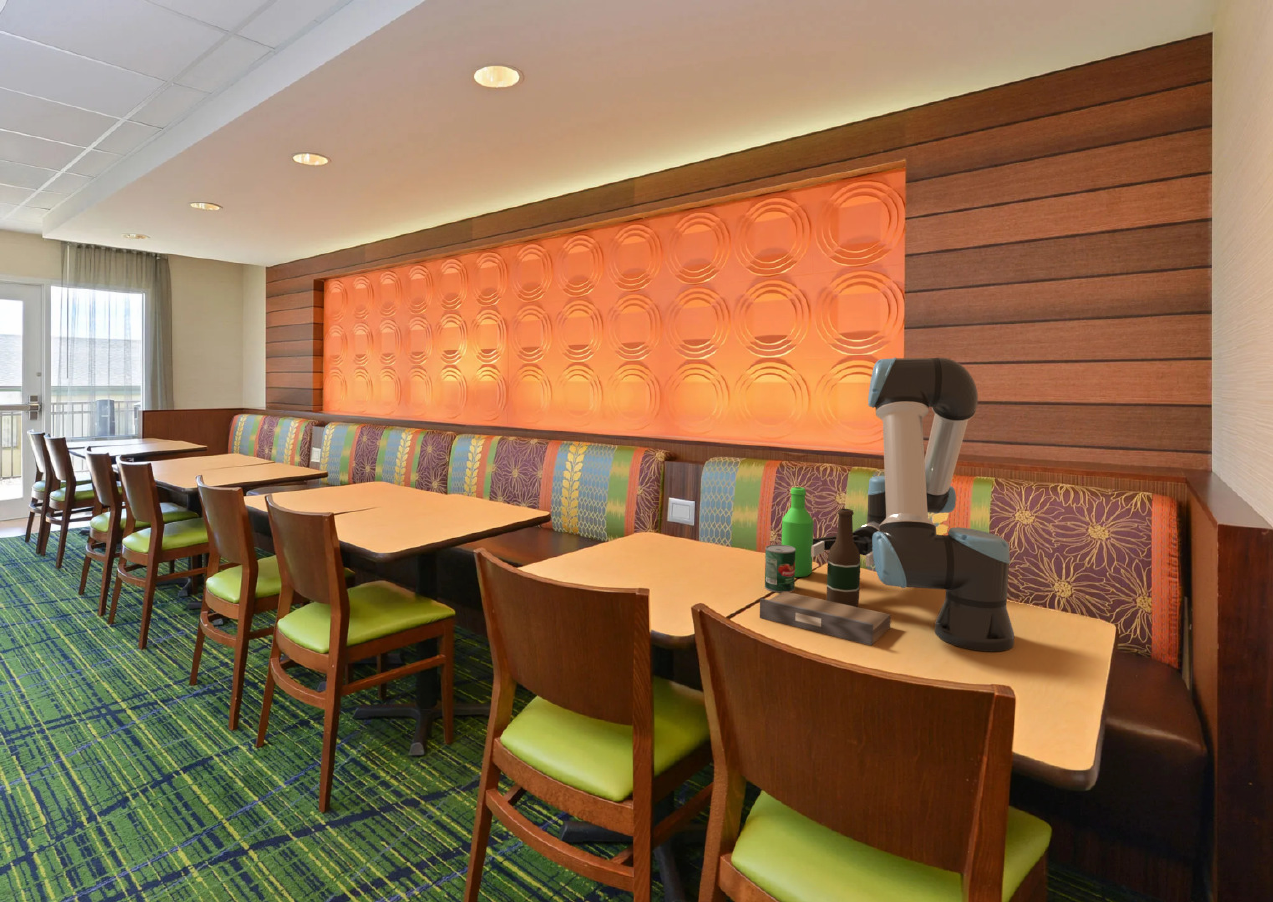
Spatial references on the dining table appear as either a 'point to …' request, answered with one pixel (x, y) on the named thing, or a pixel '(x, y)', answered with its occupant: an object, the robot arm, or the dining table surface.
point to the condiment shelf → (826, 617)
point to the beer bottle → (844, 564)
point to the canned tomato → (780, 568)
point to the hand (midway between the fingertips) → (839, 556)
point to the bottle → (799, 532)
